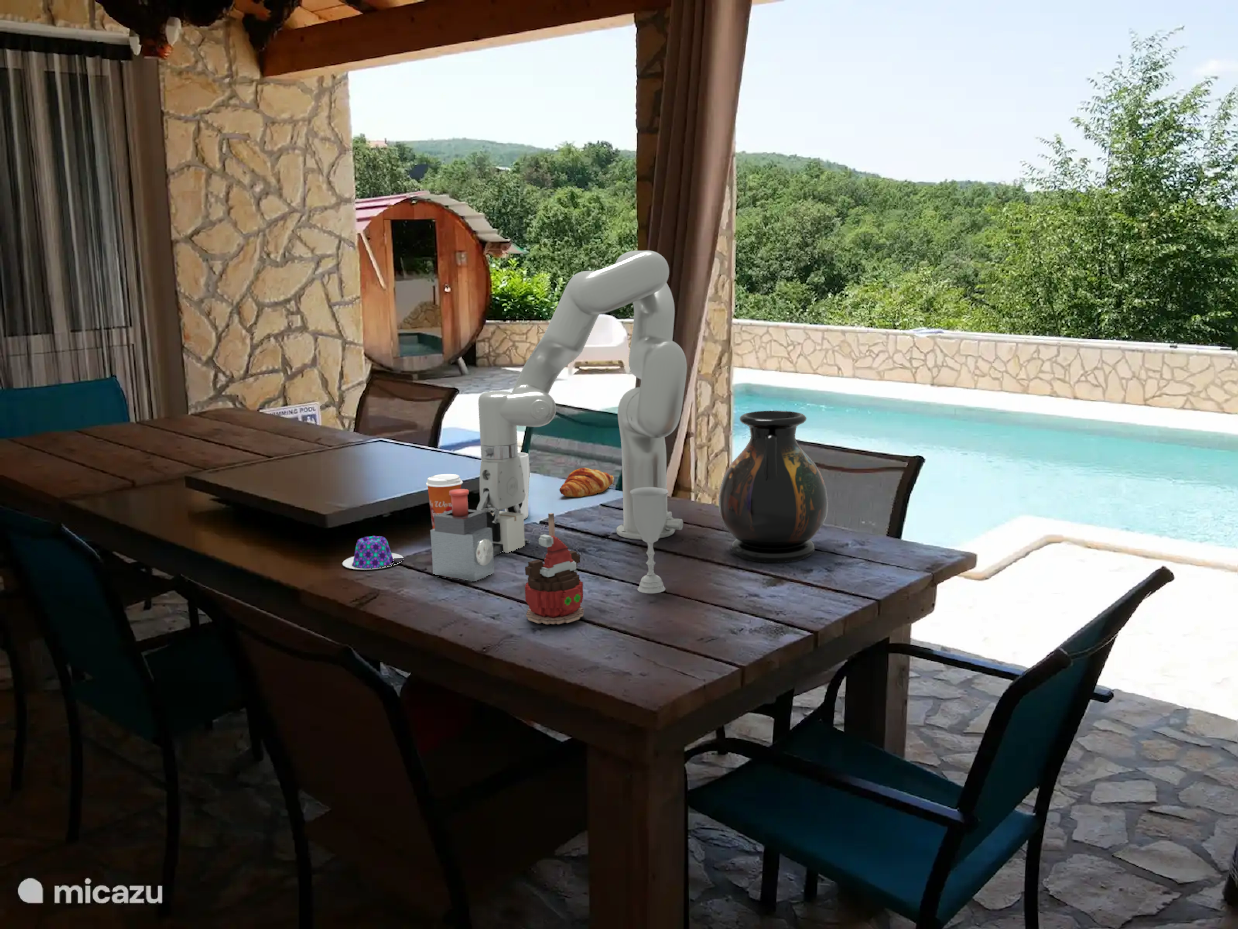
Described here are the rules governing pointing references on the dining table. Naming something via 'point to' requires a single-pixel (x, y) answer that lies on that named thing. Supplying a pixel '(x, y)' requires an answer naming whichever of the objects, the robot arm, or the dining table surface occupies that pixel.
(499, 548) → the rail
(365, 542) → the purple patterned hat
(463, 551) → the cabinet
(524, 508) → the drinking glass
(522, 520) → the white taped box
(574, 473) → the croissant
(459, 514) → the button
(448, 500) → the paper cup
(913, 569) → the dining table surface
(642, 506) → the chalice
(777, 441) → the black painted vase
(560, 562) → the christmas candy apple
